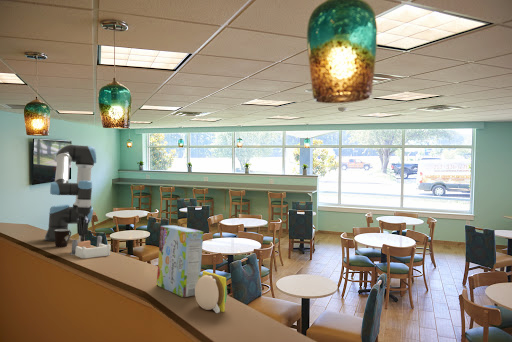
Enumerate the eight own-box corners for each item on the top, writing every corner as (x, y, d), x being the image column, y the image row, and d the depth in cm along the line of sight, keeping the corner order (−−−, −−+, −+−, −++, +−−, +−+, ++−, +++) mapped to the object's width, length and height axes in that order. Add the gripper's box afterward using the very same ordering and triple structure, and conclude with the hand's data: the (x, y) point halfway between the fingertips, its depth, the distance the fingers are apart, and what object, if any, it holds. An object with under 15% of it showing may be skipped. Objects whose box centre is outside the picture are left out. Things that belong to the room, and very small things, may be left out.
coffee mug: (57, 248, 223) (58, 231, 223) (50, 246, 228) (51, 229, 228) (76, 246, 232) (77, 230, 232) (69, 244, 237) (70, 228, 237)
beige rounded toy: (189, 306, 135) (191, 273, 135) (206, 301, 141) (208, 270, 142) (211, 315, 127) (213, 280, 127) (228, 310, 133) (230, 276, 134)
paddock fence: (68, 254, 209) (69, 238, 209) (98, 250, 221) (99, 235, 222) (79, 258, 198) (80, 242, 199) (110, 255, 211) (111, 239, 211)
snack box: (201, 294, 149) (204, 230, 150) (182, 298, 143) (186, 232, 144) (173, 282, 165) (176, 224, 165) (155, 285, 159) (158, 225, 159)
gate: (74, 253, 207) (75, 240, 207) (70, 252, 208) (71, 240, 208) (90, 249, 220) (91, 237, 220) (87, 248, 221) (87, 237, 221)
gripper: (72, 205, 221) (70, 245, 221) (81, 207, 213) (79, 248, 212) (85, 205, 227) (83, 244, 226) (94, 207, 218) (92, 247, 217)
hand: (81, 246), depth 219 cm, fingers closed
